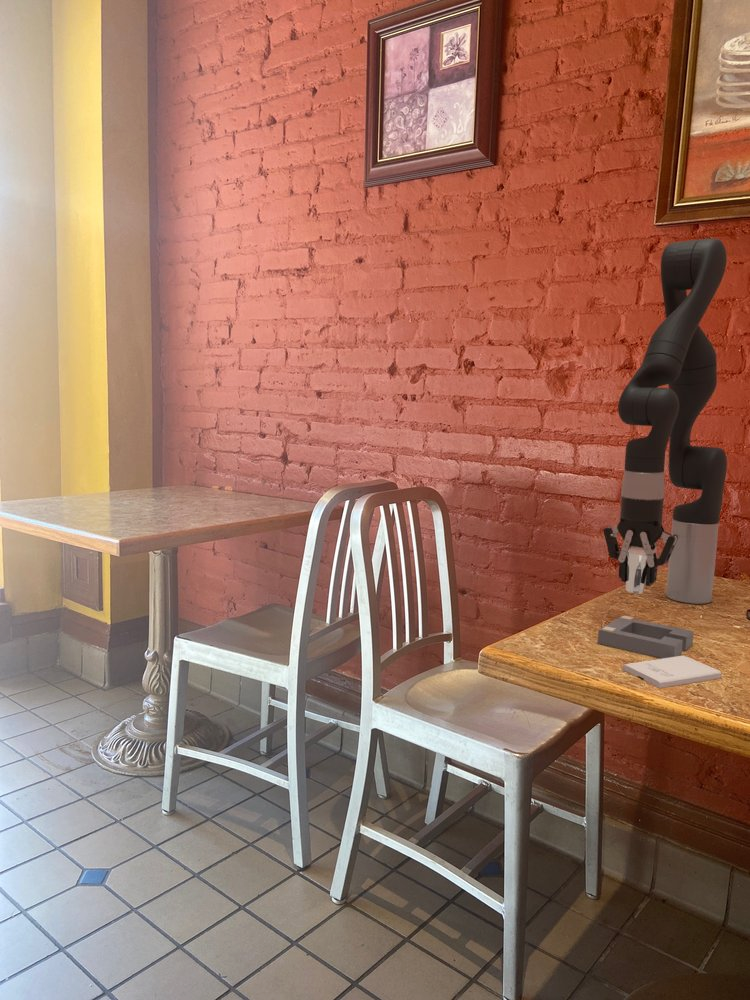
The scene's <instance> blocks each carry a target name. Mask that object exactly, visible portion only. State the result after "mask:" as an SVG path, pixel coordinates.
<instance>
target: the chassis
mask: <svg viewBox="0 0 750 1000" xmlns="http://www.w3.org/2000/svg"><path fill="white" fill-rule="evenodd" d="M694 633H695V631H694V630H690V629H685V628H680V627H675V626H670V625H665V624H660V623H656V622H652V621H651V622H650V621H645V620H640V619H635V617H633V616H629V615H623V616H619V617H617V618H616V619H614V620H612V621H610V622H609V623H608V624H606V625H604V626H603V627H601V628H599V629H598V634H597V644H599V645H603V646H606V647H612V648H616V649H621V650H625V651H629V652H634V653H636V654H637V653H638V654H642V655H645V656H650V657H655V658H657V659H663V658H670V657H676V656H682V654H683V653H682V652H686V651H687V650H688V649H689V648H690V647H691V646H693V641H694Z"/></svg>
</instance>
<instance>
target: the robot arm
mask: <svg viewBox="0 0 750 1000" xmlns="http://www.w3.org/2000/svg"><path fill="white" fill-rule="evenodd" d="M661 254H662V255H661V257H660V281H661V289H662V290H661V291H662V298H663V305H664V315H665V319H664V320H663V321H662V322H661V323H660V324H659V326H658V327H657V328H656V329H655V331H653V334H652V335H651V338H650V340H649V342H648V346H647V348H646V351H645V354H644V357H643V360H642V363H641V364H640V366H639V367H638V369H637V370H636V372H635V374H634V375H633V376H632V377H631V379H630V380H629V382H628V383H627V385H626V386H625V388H624V389H623V391H622V393H621V395H620V396H619V399H618V404H617V405H618V406H617V411H618V412H617V413H618V416H619V418H620V420H621V421H622V423H624V424H626V425H629V426H643V427H644V426H647V427H651V429H650V431H649V433H648V435H647V436H645V437H639V438H634V439H633V438H632V439H630V440H629V441H628V442H627V443H626V446H625V453H624V454H625V456H624V469H623V470H624V472H623V477H622V483H621V484H622V485H621V489H620V493H621V495H620V496H621V497H620V498H621V500H620V511H619V512H620V515H619V517H620V518H619V519H620V520H619V522H618V524H617V525H615V526H614V525H613V526H612V525H610V526H607V527H604V528H603V534H604V539H605V544H606V547H607V551H608V555H609V558H611V559H615V560H617V561H618V563H619V564H618V577H619V578H618V579H620V581H621V582H623V583H626V570H627V551H628V549H629V547H630V546H635V547H642V548H644V551H645V553H646V555H648V558H647V563H648V567H647V572H646V582H645V586H646V587H651V586H652V585H653V584H654V583H656V581H657V577H658V575H657V574H658V567H660V566H665V564H667V563H668V569H667V570H668V572H667V578H666V589H665V590H666V592H665V596H666V597H667V599H670V600H672V601H677V602H681V603H685V604H686V603H687V604H696V605H697V604H698V605H700V604H702V605H704V604H709V603H711V602H712V600H713V599H712V598H713V589H714V581H715V579H714V578H715V569H716V560H717V559H716V557H717V549H718V548H717V547H718V535H719V525H720V524H719V523H720V516H721V511H722V505H723V497H724V496H723V495H724V488H725V484H726V482H725V481H726V477H727V470H728V469H727V468H728V460H727V454H726V452H725V450H724V449H722V448H720V447H715V446H714V447H713V446H701V445H691V434H692V433H691V432H692V430H693V426H694V423H695V422H696V420H697V418H698V417H699V415H700V414H701V412H702V411H703V409H704V408H705V406H706V405H707V403H708V402H709V400H710V399H711V398H712V396H713V394H714V393H715V390H716V387H717V383H718V382H717V381H718V375H717V373H718V370H717V369H718V368H717V365H718V364H717V361H718V360H717V359H718V358H717V352H716V350H715V348H714V346H713V344H712V343H711V341H710V340H709V337H708V336H707V335H706V333H705V332H704V331H703V329H702V328H701V327H700V323H701V321H702V319H703V317H704V316H705V314H706V312H707V310H708V308H709V306H710V304H711V302H712V300H713V299H714V296H715V294H716V293H717V291H718V289H719V287H720V284H721V283H722V280H723V278H724V274H725V272H726V267H727V258H728V257H727V251H726V247H725V245H724V243H723V241H721V240H720V239H718V238H701V239H693V240H685V241H684V240H683V241H676V242H672V243H669V244H667V245H666V246H665V247H664V248H663V251H662V253H661ZM689 290H690V291H689ZM687 291H689V292H688V293H687ZM666 385H668V387H662V386H666ZM668 444H669V448H668V475H669V480H670V483H671V484H672V485H673V486H674V487H677V488H681V489H690V490H700V491H701V495H700V497H699V498H697V499H696V500H693V501H690V502H686V503H681V504H678V505H676V506H674V508H673V511H672V523H671V532H670V533H669V532H667V531H665V528H664V526H663V514H664V512H663V511H664V500H665V486H666V485H665V481H666V480H665V466H666V453H667V447H668ZM618 533H619V534H620V536H621V538H622V540H623V543H622V545H621V547H619V543H618V539H617V537H618V535H619V534H618ZM660 538H662V544H663V545H664V546H663V548H662V551H661V553H660V555H659V557H658V554H657V552H658V549H657V545H656V544H657V542H658V540H660ZM655 545H656V547H655ZM654 547H655V548H654Z"/></svg>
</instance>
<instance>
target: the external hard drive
mask: <svg viewBox="0 0 750 1000" xmlns="http://www.w3.org/2000/svg"><path fill="white" fill-rule="evenodd" d="M621 670H622V671H624V672H626V673H628V674H630V675H632V676H634V677H636V678H639V679H641V680H643V681H644V682H646V683H648V684H650V685H652V686H654V687H655V688H658V689H663V688H670V687H676V686H683V685H689V684H694V683H696V684H697V683H701V682H709V681H712V680H713V681H714V680H720V679H722V674H723V673H722V671H720V670H719V669H716V668H713V667H712V666H709V665H707V664H704V663H702V662H700V661H698V660H695V659H693V658H691V657H688V656H687V655H680V656H676V657H670V658H657V659H651V660H645V661H639V662H632V663H625V664H622V668H621Z"/></svg>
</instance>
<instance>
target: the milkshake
mask: <svg viewBox="0 0 750 1000" xmlns="http://www.w3.org/2000/svg"><path fill="white" fill-rule="evenodd" d="M658 543H659V542H658V541H657V542H656V545H655V547H656V548H657V545H658ZM655 547H654V548H655ZM647 558H648V555H646V553H645V551H644V548H642V547H635V546H630V547H629V549H628V551H627V570H626V582H625V591H626V592H628V593H631V594H636V595H641V594H643V593H644V591H645V586H646V572H647V567H648V563H647Z"/></svg>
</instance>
